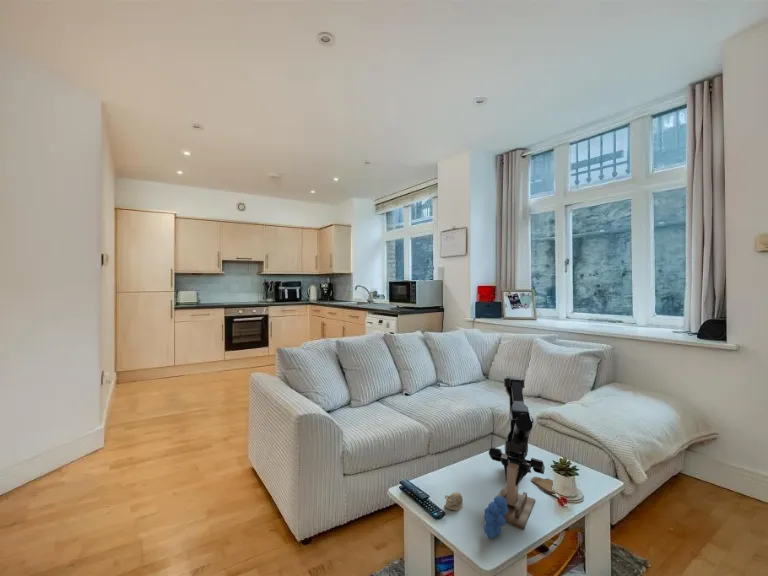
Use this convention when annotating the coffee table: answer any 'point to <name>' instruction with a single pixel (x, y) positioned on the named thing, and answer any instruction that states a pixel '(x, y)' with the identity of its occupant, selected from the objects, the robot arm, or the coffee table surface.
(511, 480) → the brown rectangular box
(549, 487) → the pottery shard
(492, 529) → the grapes
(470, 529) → the coffee table surface
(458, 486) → the coffee table surface
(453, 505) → the decorative ornament
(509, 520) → the walnut rack
